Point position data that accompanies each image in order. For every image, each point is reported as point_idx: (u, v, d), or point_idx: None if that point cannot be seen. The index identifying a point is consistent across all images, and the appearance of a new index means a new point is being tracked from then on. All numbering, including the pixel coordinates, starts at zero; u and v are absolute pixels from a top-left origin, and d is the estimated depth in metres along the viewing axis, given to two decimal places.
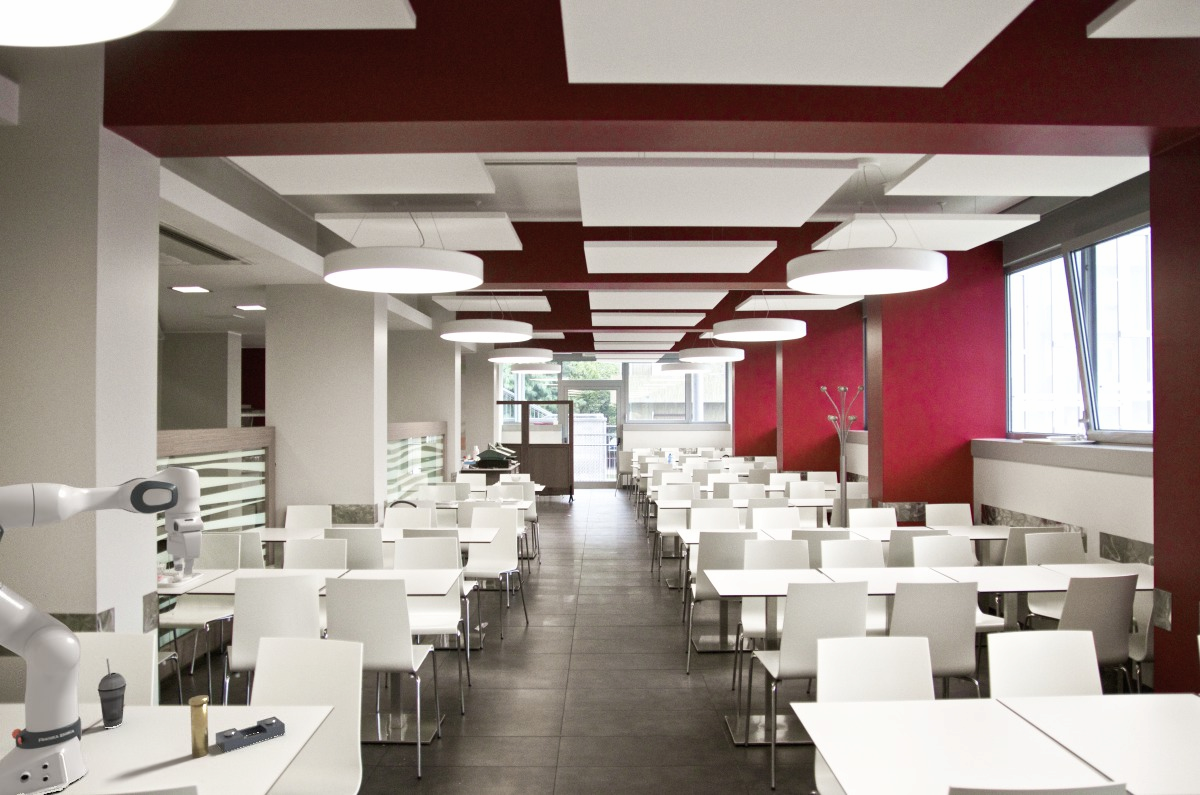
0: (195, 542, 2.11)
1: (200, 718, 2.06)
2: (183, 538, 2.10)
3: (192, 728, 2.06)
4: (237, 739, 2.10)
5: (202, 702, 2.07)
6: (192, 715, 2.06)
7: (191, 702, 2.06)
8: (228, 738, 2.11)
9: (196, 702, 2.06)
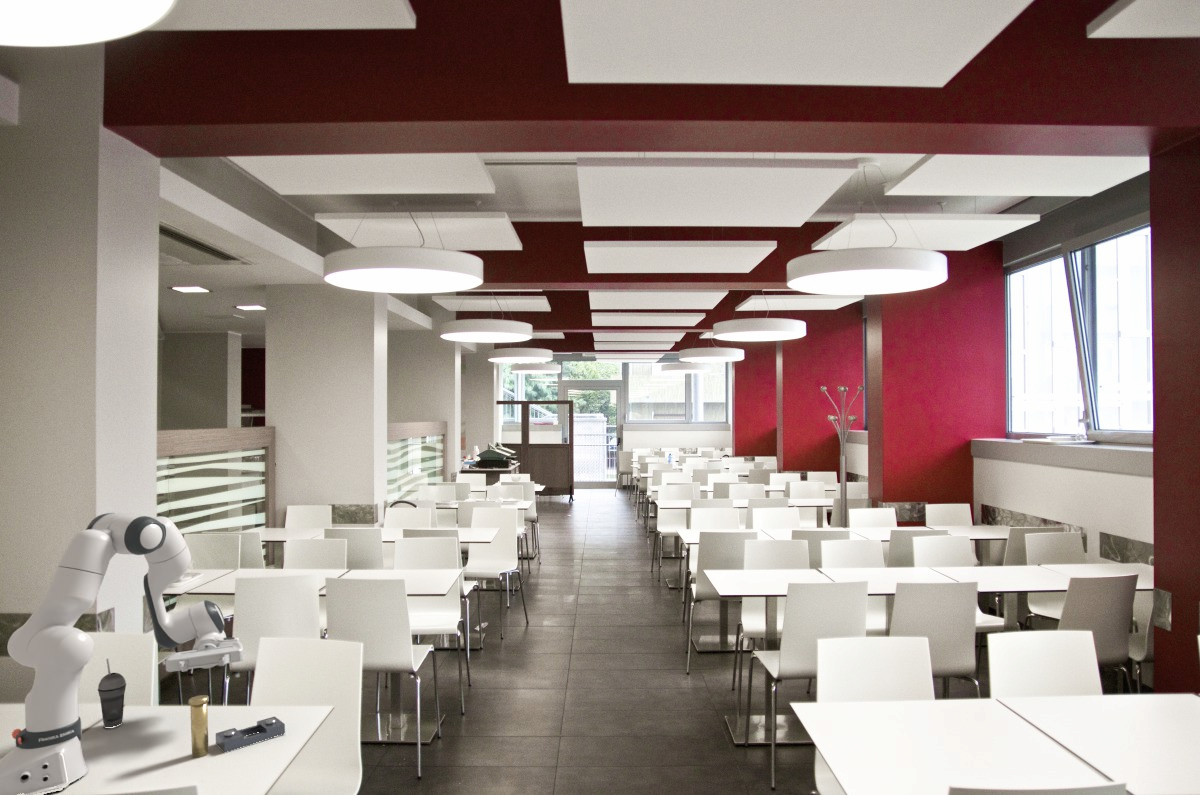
0: None
1: (200, 718, 2.06)
2: (240, 642, 2.32)
3: (192, 728, 2.06)
4: (237, 739, 2.10)
5: (202, 702, 2.07)
6: (192, 715, 2.06)
7: (191, 702, 2.06)
8: (228, 738, 2.11)
9: (196, 702, 2.06)
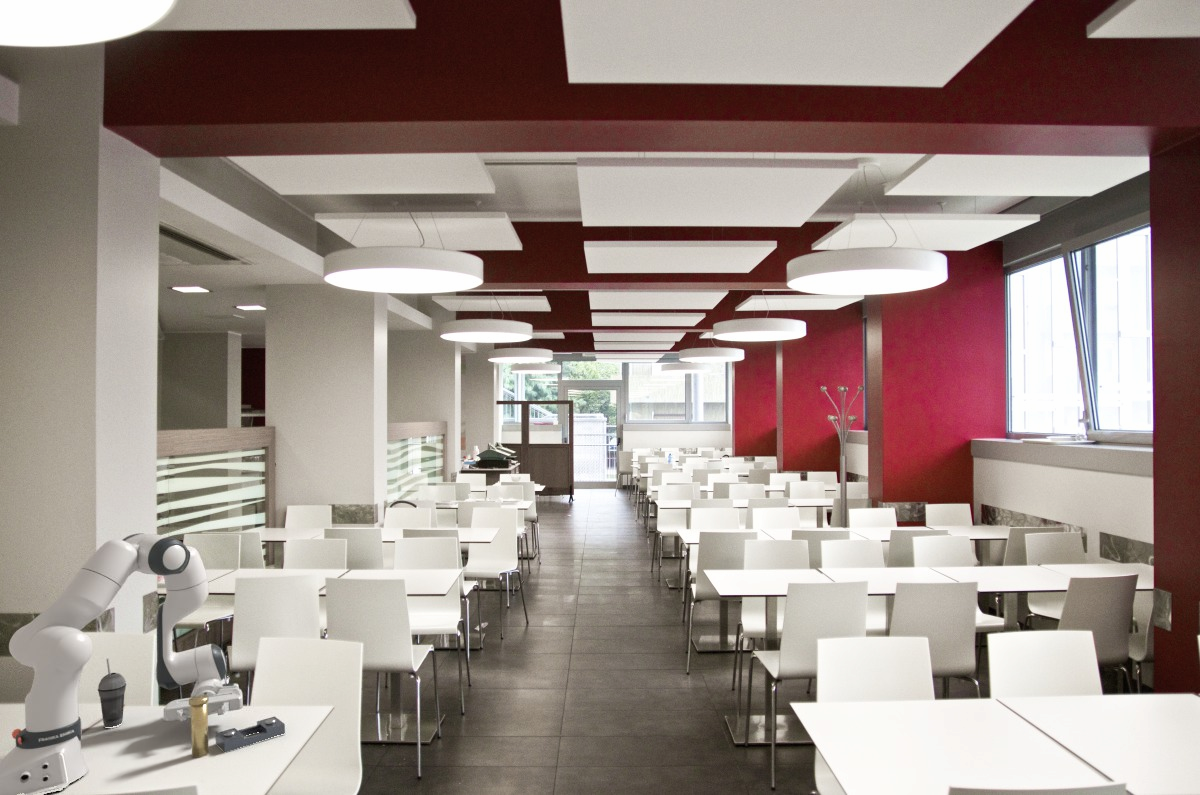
0: None
1: (200, 718, 2.06)
2: (239, 689, 2.28)
3: (192, 728, 2.06)
4: (237, 739, 2.10)
5: (202, 702, 2.07)
6: (192, 715, 2.06)
7: (191, 702, 2.06)
8: (228, 738, 2.11)
9: (196, 702, 2.06)
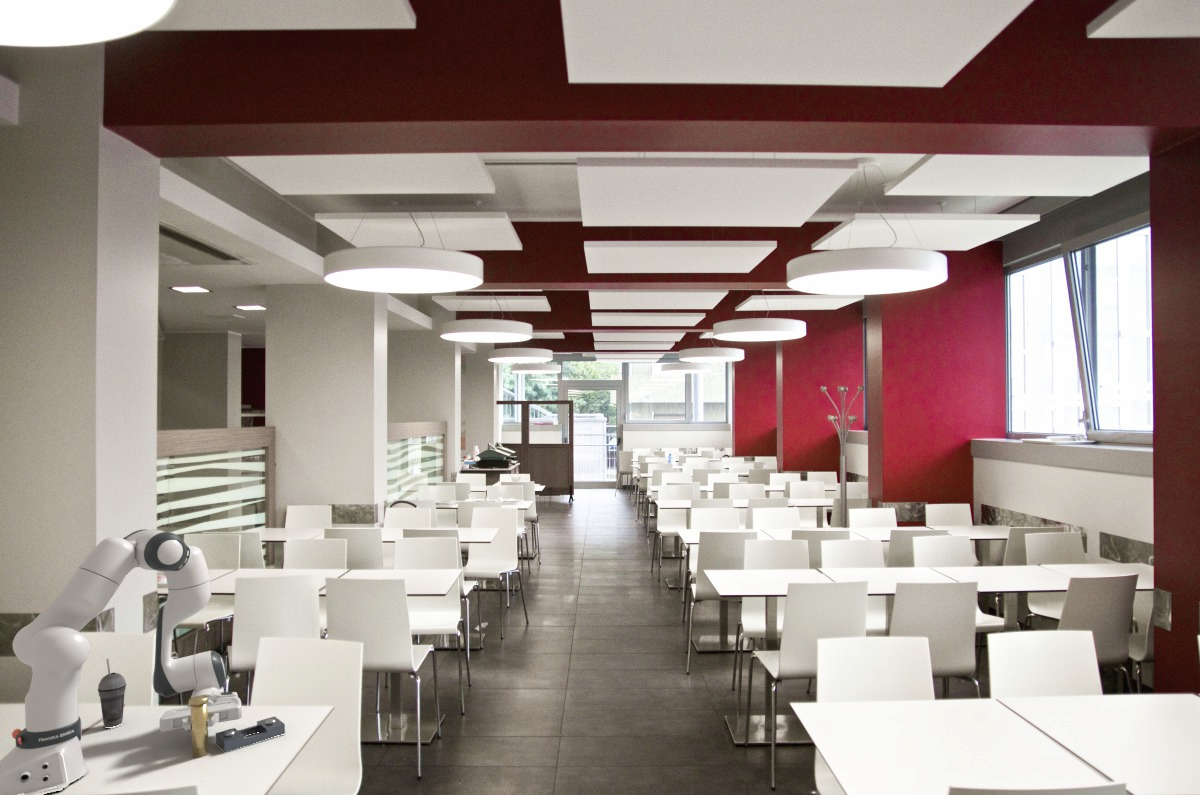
0: None
1: (200, 718, 2.06)
2: (238, 698, 2.20)
3: (192, 728, 2.06)
4: (237, 739, 2.10)
5: (202, 702, 2.07)
6: (192, 715, 2.06)
7: (191, 702, 2.06)
8: (228, 738, 2.11)
9: (196, 702, 2.06)
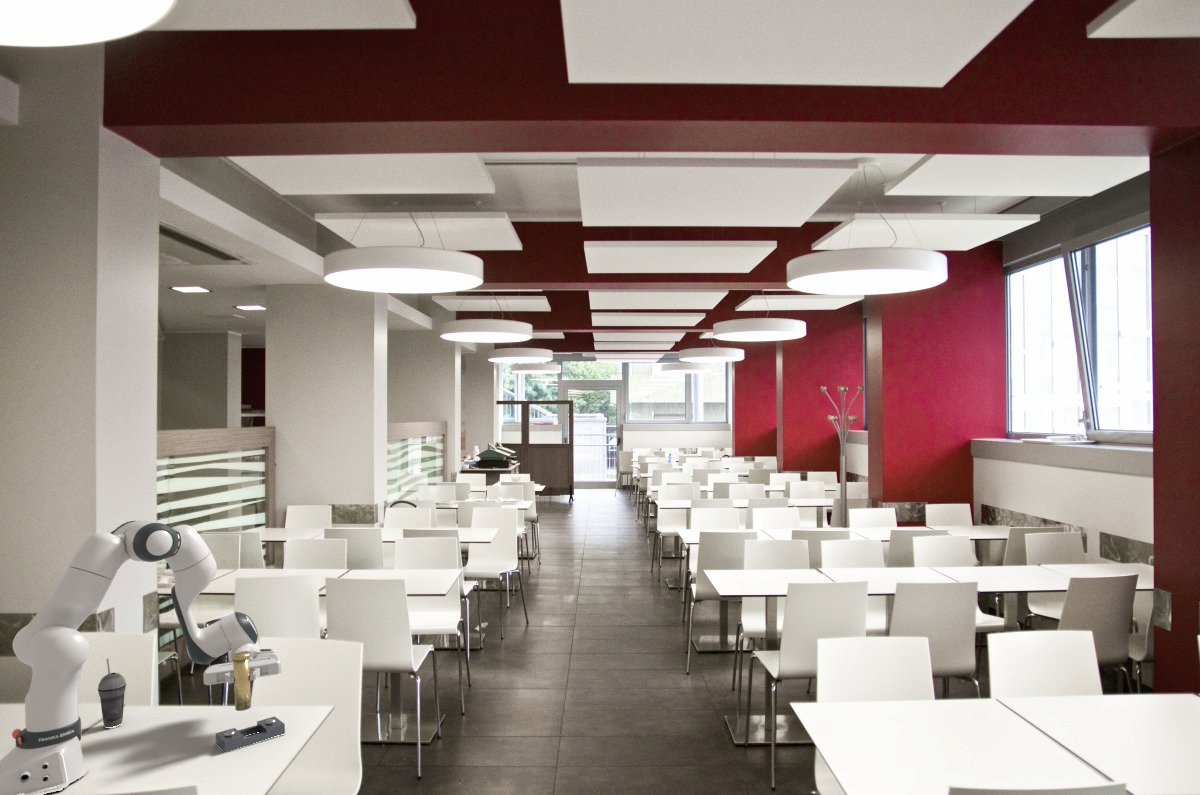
0: None
1: (243, 673, 2.14)
2: (277, 654, 2.28)
3: (235, 682, 2.14)
4: (237, 739, 2.10)
5: (244, 657, 2.14)
6: (235, 670, 2.14)
7: (233, 657, 2.14)
8: (228, 738, 2.11)
9: (239, 657, 2.14)
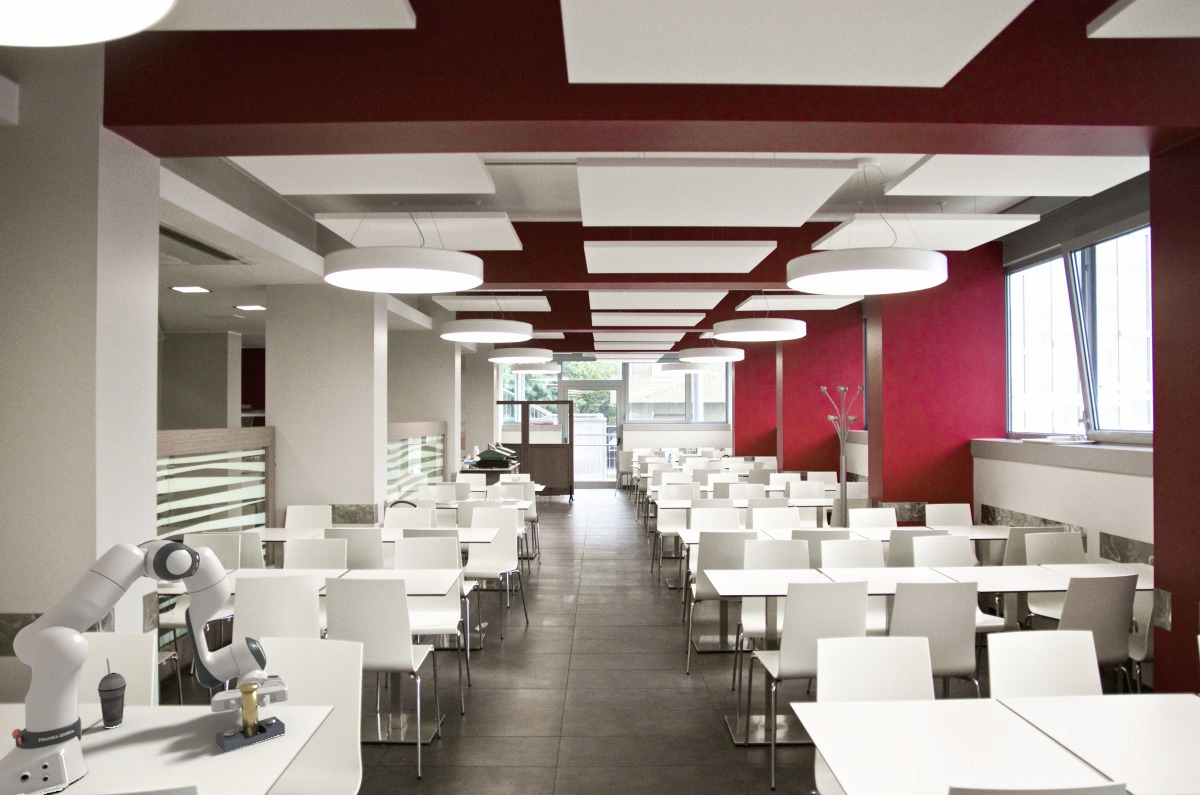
0: None
1: (251, 705, 2.15)
2: (284, 681, 2.29)
3: (243, 714, 2.15)
4: (237, 739, 2.10)
5: (253, 689, 2.15)
6: (243, 701, 2.15)
7: (242, 689, 2.15)
8: (228, 738, 2.11)
9: (247, 689, 2.15)
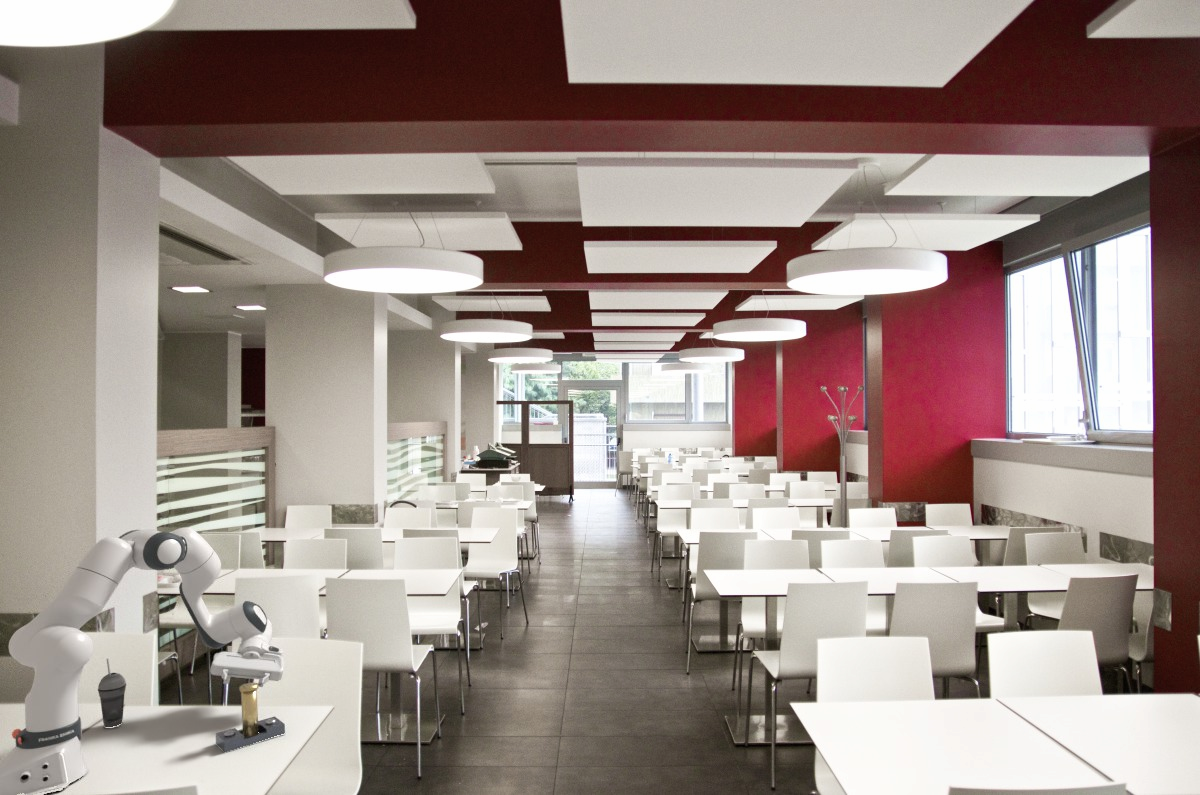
0: None
1: (251, 705, 2.15)
2: (282, 658, 2.39)
3: (243, 714, 2.15)
4: (237, 739, 2.10)
5: (252, 689, 2.15)
6: (243, 701, 2.15)
7: (242, 689, 2.15)
8: (228, 738, 2.11)
9: (247, 689, 2.15)
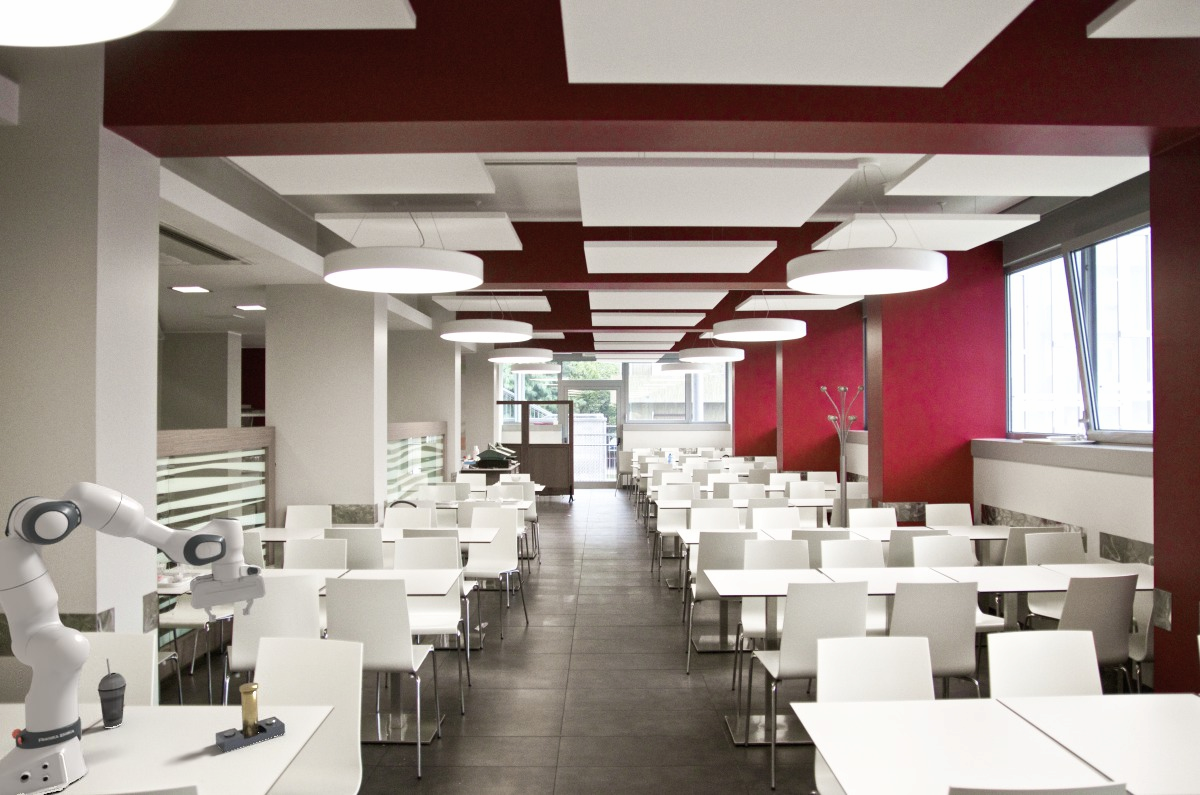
0: None
1: (251, 705, 2.15)
2: (263, 578, 2.34)
3: (243, 714, 2.15)
4: (237, 739, 2.10)
5: (252, 689, 2.15)
6: (243, 701, 2.15)
7: (242, 689, 2.15)
8: (228, 738, 2.11)
9: (247, 689, 2.14)
